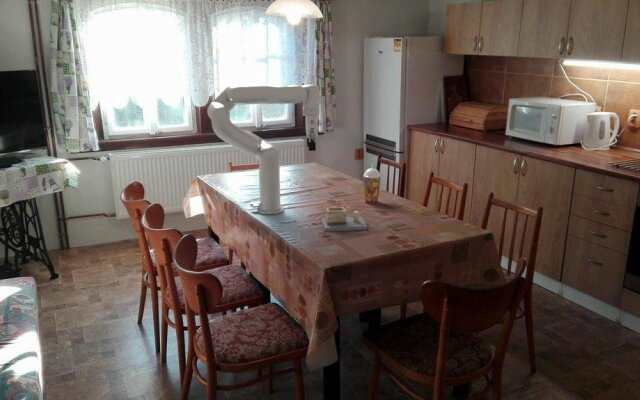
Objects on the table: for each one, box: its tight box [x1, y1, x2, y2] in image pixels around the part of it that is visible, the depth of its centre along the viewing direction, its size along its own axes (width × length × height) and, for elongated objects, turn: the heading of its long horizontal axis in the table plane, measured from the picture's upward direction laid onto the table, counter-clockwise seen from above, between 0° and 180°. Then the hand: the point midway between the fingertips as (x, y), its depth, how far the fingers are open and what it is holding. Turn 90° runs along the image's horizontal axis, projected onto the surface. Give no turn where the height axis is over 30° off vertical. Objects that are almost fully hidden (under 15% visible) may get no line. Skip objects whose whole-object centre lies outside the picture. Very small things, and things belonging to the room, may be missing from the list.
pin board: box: [320, 210, 368, 232], centre depth 232 cm, size 18×13×6 cm
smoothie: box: [363, 162, 381, 205], centre depth 263 cm, size 8×8×20 cm
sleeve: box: [325, 206, 347, 225], centre depth 231 cm, size 6×8×6 cm
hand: (311, 148), depth 252 cm, fingers open, 9 cm apart
